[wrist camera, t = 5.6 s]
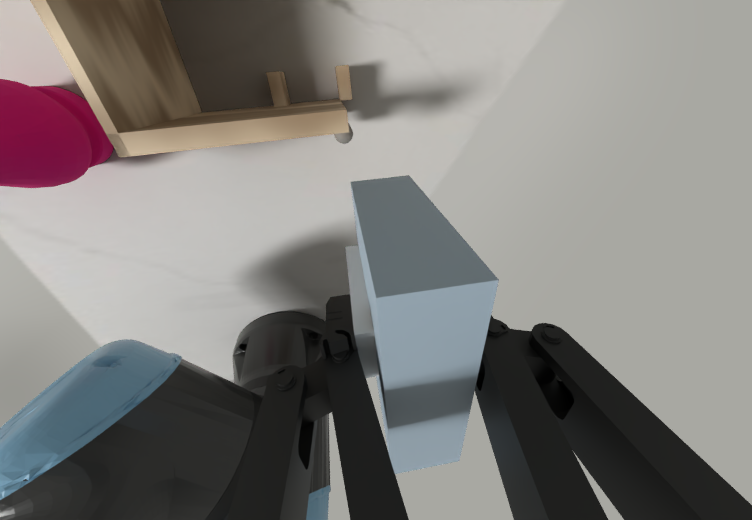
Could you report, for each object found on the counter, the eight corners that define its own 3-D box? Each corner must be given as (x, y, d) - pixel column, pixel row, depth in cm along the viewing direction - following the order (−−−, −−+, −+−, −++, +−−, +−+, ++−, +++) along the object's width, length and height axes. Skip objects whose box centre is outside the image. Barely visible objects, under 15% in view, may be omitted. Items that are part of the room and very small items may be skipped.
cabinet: (352, 122, 27) (367, 146, 17) (204, 138, 26) (128, 173, 16) (325, -118, 19) (322, -341, 9) (108, -110, 18) (-170, -352, 8)
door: (420, 314, 20) (476, 457, 12) (367, 323, 19) (392, 474, 12) (423, 173, 14) (529, 275, 7) (350, 181, 14) (376, 297, 6)
